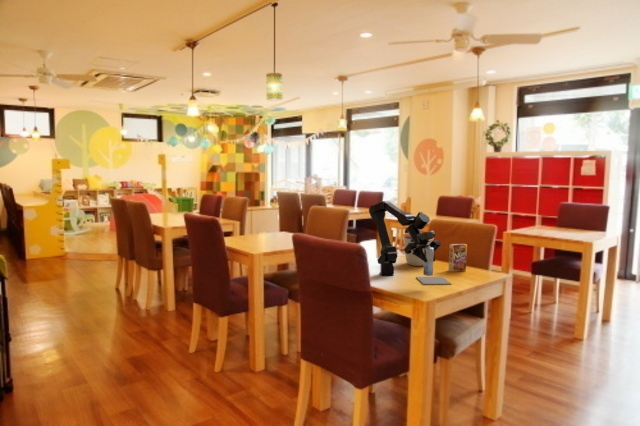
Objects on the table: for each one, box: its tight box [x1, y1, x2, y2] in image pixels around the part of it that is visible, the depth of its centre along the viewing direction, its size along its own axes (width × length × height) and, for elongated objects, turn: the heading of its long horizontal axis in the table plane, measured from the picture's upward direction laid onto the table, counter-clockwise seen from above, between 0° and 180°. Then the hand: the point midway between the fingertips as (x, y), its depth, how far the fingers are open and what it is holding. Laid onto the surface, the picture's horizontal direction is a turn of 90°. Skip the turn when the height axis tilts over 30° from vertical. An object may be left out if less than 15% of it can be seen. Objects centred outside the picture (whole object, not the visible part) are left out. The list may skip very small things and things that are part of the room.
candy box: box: [448, 243, 468, 272], centre depth 250 cm, size 9×4×15 cm, turn 103°
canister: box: [402, 229, 435, 267], centre depth 266 cm, size 18×18×21 cm
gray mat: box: [415, 276, 452, 286], centre depth 227 cm, size 14×14×1 cm
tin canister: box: [422, 247, 435, 277], centre depth 212 cm, size 4×4×13 cm
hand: (430, 261), depth 211 cm, fingers closed on tin canister, 4 cm apart
